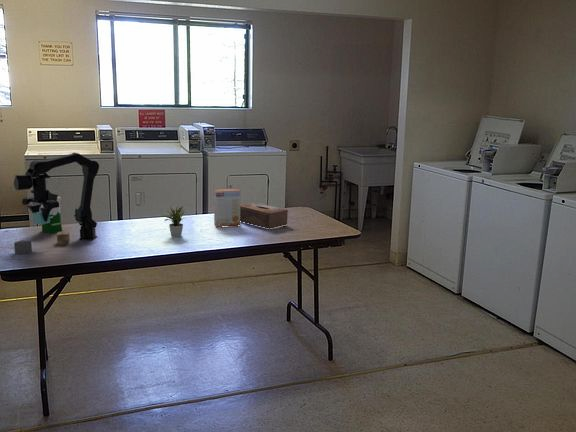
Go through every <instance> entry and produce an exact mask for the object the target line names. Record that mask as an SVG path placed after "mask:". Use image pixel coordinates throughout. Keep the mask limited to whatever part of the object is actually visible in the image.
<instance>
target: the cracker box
mask: <svg viewBox="0 0 576 432" xmlns="http://www.w3.org/2000/svg"><path fill="white" fill-rule="evenodd" d="M213 204H214V205H213V210H214V211H213V214H214V215H213V216H214V217H213V222H214V223H213V225H215V226H216V227H215V226H214V227H215V228H217V227H220V228H223V227H222V226H235V227H239V226H238V225H240V226H241V223H240V205H241V190H240V189H239V188H225V189H224V188H223V189H214V190H213Z"/></svg>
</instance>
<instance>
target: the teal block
mask: <svg viewBox="0 0 576 432" xmlns="http://www.w3.org/2000/svg"><path fill="white" fill-rule="evenodd" d="M32 217H33V224H35V225H40V226H42V224H47V223H50V213H49V216H48V220H47V221H46V222H45V221H44V219H43V216H42V213H41V210H39V212H35V213H32Z"/></svg>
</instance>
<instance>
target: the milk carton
mask: <svg viewBox="0 0 576 432" xmlns="http://www.w3.org/2000/svg"><path fill="white" fill-rule="evenodd" d="M49 192H50V191H49ZM50 193H52V192H50ZM61 200H62V197H60V196H58V198H57V201H58V202H59V207H57V208H53V209H52V210H51V211H50V223H47V224H42V225H41V232H44V233H49V234H53V233H58V232H63V227H62V218H61V217H62V216H61V202H62V201H61ZM50 201H51V200H50ZM53 201H54V200H53ZM40 208H44V207H43V205H41V207H40Z"/></svg>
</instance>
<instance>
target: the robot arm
mask: <svg viewBox="0 0 576 432" xmlns="http://www.w3.org/2000/svg"><path fill="white" fill-rule="evenodd" d="M72 163H76V164H78V165H79V166H81V171H82V175H83V182H82V192H81V196H80V205H79V207H78V208H75V210H74V211H75V212H74V215H73V217H75V218H74V219H75V221H76V222H77V223H78V224H79V226H80V229H79V240H85V241H86V240H87V241H88V240H89V241H92V240H94V239H96V238H98V235H97V234H96V228H97V226H98V222H97V221H95V220H94V219H93V212H92V209H91V204H92V196H93V187H94V181H95V178H96V176H97V175H98V173H99V170H100V163H98V161H96V160H93V159H89V158H87V157H85V156H84V155H81V154H80V153H77V152H72V153H69V154H65V155H63V156H59V157H54V158H50V159H37V160H32V161H31V162H30V164H29V168H28V169H27V171H26V172H25V173H24V174H16V175H14V180H13V186H14V187H13V188H14V189H15V190H16V191H24V190H25V191H26V190H30V193H32V196H30V197H24V198H23V199H22V200H21V203H22V205H24V206H27V208H28V209H29V210H30V212H31V213H32V214H33V213H35V212H40V211H41V213H42V216H43V219H44V221H45V222H46V221H47V220H48V216H49V213H50V211H51V210H52V209H53V208H57V207H59V202H58V201H57V198H58V197H59V195H58V194H55V193H52V192H51V193H50V191H49V189H47V181H46V179H50V178H51V176H50V175H48V174H47V173H48V172H49V171H51V170H52V169H56V168H58V167H62V166H65V165H69V164H72ZM31 188H32V190H31ZM50 200H51V201H50ZM53 200H54V201H53ZM41 205H43V207H44V208H41Z"/></svg>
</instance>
